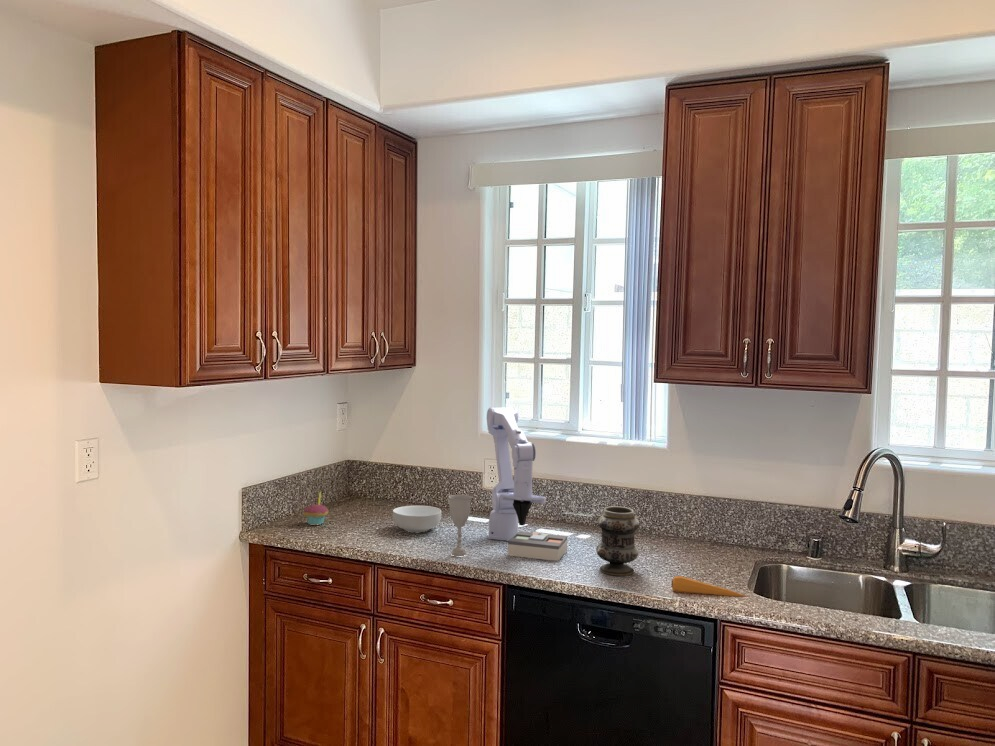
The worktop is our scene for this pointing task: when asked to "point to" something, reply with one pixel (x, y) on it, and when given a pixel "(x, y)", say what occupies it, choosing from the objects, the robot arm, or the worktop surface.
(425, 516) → the cereal bowl
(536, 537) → the blue key
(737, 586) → the worktop surface
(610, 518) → the apothecary jar
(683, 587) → the carrot
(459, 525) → the chalice
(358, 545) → the worktop surface
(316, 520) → the cupcake
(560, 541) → the terracotta key
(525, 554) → the keypad
